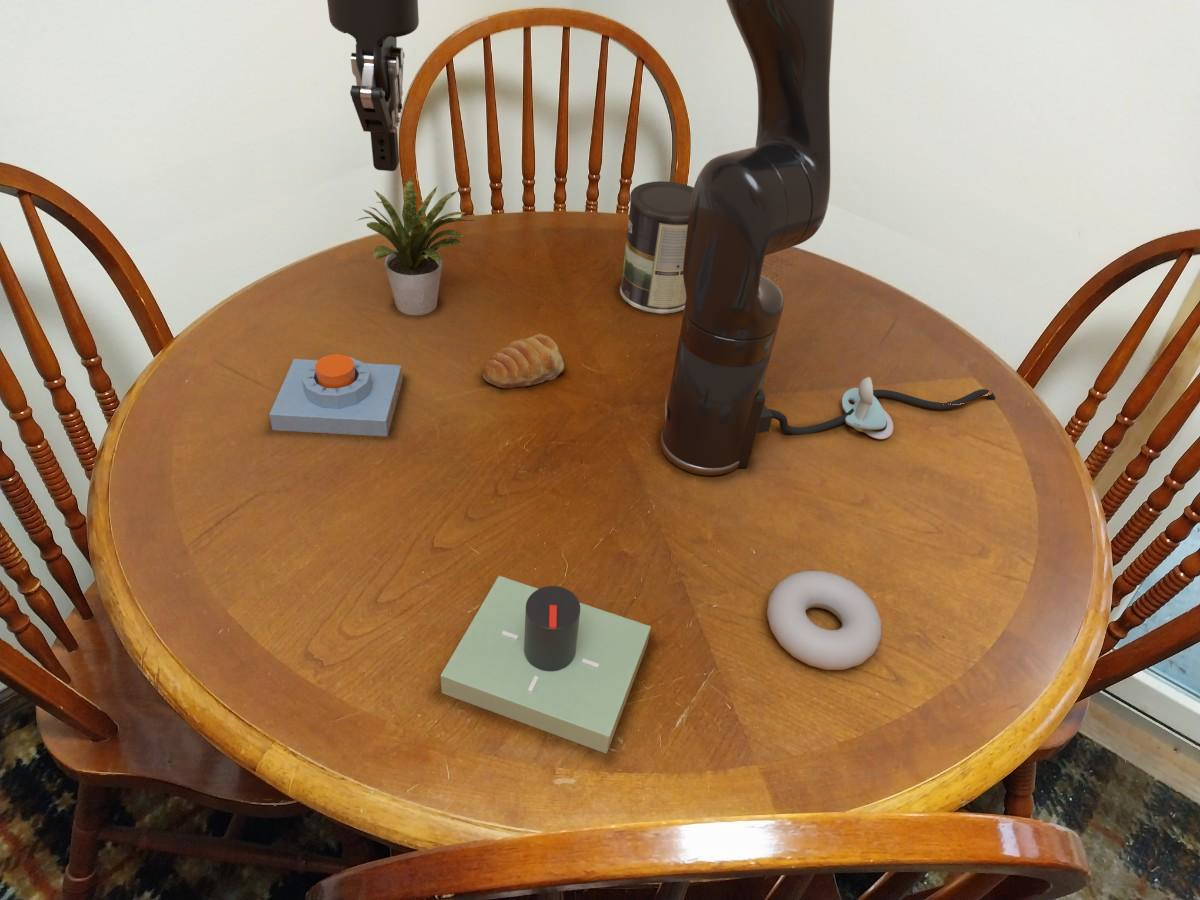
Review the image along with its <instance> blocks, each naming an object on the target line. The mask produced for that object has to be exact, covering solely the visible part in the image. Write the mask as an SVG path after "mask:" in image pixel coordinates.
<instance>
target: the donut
mask: <svg viewBox="0 0 1200 900" xmlns="http://www.w3.org/2000/svg"><path fill="white" fill-rule="evenodd" d="M813 608H819V609H823V610H826V611H829V612H830V613H832V614H833V615H834V616H835V617H837V618H838V620H839V621H840V623H841V627H840V628H837V629H827V628H823V627H821V626H819V625H817V624H815V622H813V621H812V620H811V619H810V618H809V616H808V615H807V613H806V611H807V610H809V609H813ZM766 610H767V611H766V617H767V621H768V624H769V625H768V626H769V628H770V631H771V633H772V634H773V636H774V638H775V639H776V641H777V642H778V644H779V645H780V646H781V648H783V649H784V650H785V651H786V652H787V653H788V654H790V656H791V657H793V658H795V659H797V660H799V661H800V662H802V663H804V664H806V665H807V666H811V667H814V668H818V669H821V670H825V671H844V670H847V669H850V668H853V667H857V666H859V665H862V664H863V663H864V662H865V661H867V660H868V659H869V658H871V657H872V656H873V655H874V654H875V652H876V650H877V648H878V646H879V644H880V642H881V639H882V619H881V616H880V614H879V611H878V609H877V606H876V604H875V603H874V601H873V600H872V599H871V598H870V596H869V595H868V594H867V592H866V591H864V590H863V589H862V588H861V587H860V586H858V585H857V584H856V583H855V582H853V581H851V580H849V579H847V578H845V577H843V576H841V575H840V574H837V573H832V572H828V571H824V570H803V571H801V572H800V571H798V572H794V573H792V574H789V575H788V576H787V577H785V578H784V579H783V580H780V582H778V583H777V584H776V586H775V587H774V589H773V591H772V592H771V594H770V596H769V597H768V603H767V609H766Z"/></svg>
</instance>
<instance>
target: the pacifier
mask: <svg viewBox="0 0 1200 900" xmlns="http://www.w3.org/2000/svg"><path fill="white" fill-rule="evenodd" d="M873 390H874V386H873V381H872V377H871V376H866V377H865V378H863V379H862V380H861V381H860V383H859V384H858V387H853V388H850V389H848V390H847V391H845V393H844V394H843V395H842V399H841V407H842V410H843V412H844V414H845V413H846V412H847V413H848V412H849V411H850V410H851V409H852V408H853V409H854V412H853V413H852V414H851V415H848V416H847V417H846V419H845V422H844V423H845V424H846V425H847V426H850V427H852V428H853V429H854V430H855V431H857V432H861V433H864V434H866V435H867V436H868V437H871V438H873V439H876V440H885V439H888V438H889V437H890V436H892V434H893V432H894V429H895V428H894V421H893V419H892V418H891V415H890V414H889V413H888V412H887V411H886V410H885V409H884V408H883V406H882V405H881V403H880V401H879V400H878V397H875V396H874V395H873ZM849 401H852V402H854V403H855V404H854V405H852V403H851V402H849ZM883 429H884V430H883ZM877 430H881V431H877Z"/></svg>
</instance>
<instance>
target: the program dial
mask: <svg viewBox="0 0 1200 900" xmlns="http://www.w3.org/2000/svg"><path fill="white" fill-rule="evenodd" d="M579 602H580V600H579V599H578V597H577V596H576V595H575V594H574V592H572V591H571V590H569V589H567V588H565V587H563V586H558V585H547V586H542V587H540V588H538V590H536V591H535V592H533V593H532V594H531V595H530V597H529V598H528V600H527V603H526V612H525V635H524V654H525V657H526V658H527V660H528V661H529V663H530V664H531V665H533V666H534V667H536V668H538V669H540V670H543V671H557V670H560V669H563V668H565V667H566V666H568V665H569V664H570V663H571V662H572V660H573V659H574V657H575V653H576V645H577V636H578V627H579V618H580V603H581V602H580V603H579Z"/></svg>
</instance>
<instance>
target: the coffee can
mask: <svg viewBox="0 0 1200 900" xmlns="http://www.w3.org/2000/svg"><path fill="white" fill-rule="evenodd" d="M693 189H694V186H691V185H687V184H684V183H680V182H675V181H665V180H664V181H661V180H660V181H658V180H657V181H650V182H644V183H641V184H638V185H637V186H635V187H634V188H633V189H632V190H631V191H630V195H629V202H630V204H629V212H628V222H627V231H626V238H625V247H624V257H623V265H622V274H621V281H620V282H621V283H620V287H619V293H620V296H621V297H622V299H623V300H624V301H625V302H626V303H627V304H629V305H630V306H631V307H633V308H635V309H637V310H640V311H643V312H646V313H651V314H657V315H658V314H659V315H662V314H663V315H665V314H675V313H679V312H681V311H684V308H685V301H686V290H685V285H684V278H683V264H684V255H685V246H686V237H687V227H688V218H689V210H690V203H691V198H692V193H693Z"/></svg>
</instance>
